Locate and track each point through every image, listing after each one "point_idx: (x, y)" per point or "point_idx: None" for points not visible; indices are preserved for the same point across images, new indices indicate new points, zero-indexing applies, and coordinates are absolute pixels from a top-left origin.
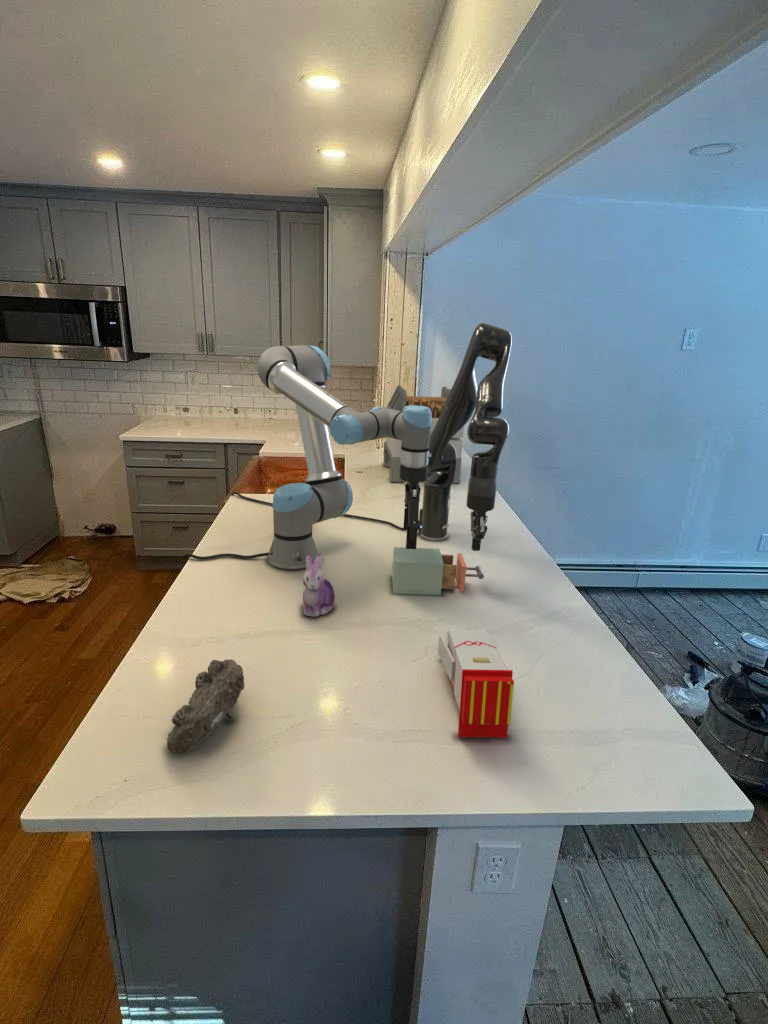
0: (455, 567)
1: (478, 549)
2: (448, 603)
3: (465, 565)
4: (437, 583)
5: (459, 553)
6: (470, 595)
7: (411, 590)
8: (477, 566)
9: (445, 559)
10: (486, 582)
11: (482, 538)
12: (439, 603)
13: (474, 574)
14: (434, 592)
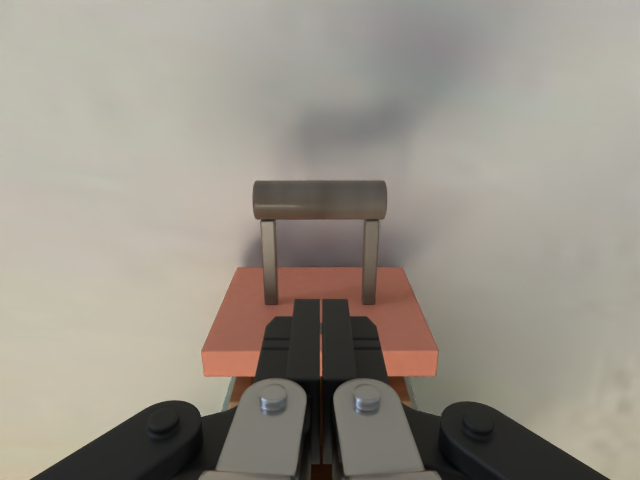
0: (410, 398)
1: (366, 322)
2: (482, 334)
3: (422, 354)
4: None
5: (208, 366)
6: (407, 227)
7: None
8: (264, 211)
9: None
10: (247, 111)
11: (506, 431)
12: (479, 369)
13: (370, 243)
14: None
